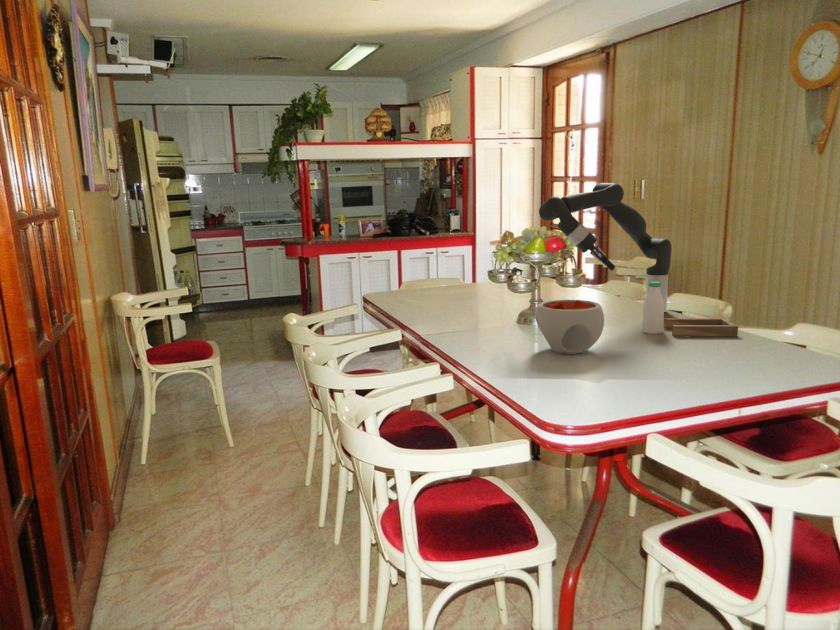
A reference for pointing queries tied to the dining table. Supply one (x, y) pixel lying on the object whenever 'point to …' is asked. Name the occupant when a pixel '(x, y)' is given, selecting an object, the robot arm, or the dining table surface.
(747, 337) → the dining table surface
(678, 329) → the walnut U-rest
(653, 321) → the milk bottle
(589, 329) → the pot
